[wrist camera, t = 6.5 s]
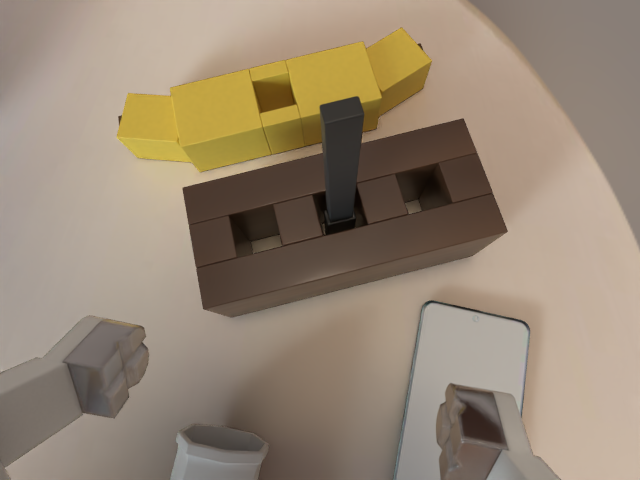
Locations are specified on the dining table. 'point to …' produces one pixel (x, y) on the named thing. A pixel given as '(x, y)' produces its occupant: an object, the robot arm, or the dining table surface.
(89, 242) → the dining table surface
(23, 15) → the dining table surface
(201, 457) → the tube
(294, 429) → the dining table surface
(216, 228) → the cutlery block
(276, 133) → the banana
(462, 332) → the smartphone
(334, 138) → the dark grey stepped rod
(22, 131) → the dining table surface
